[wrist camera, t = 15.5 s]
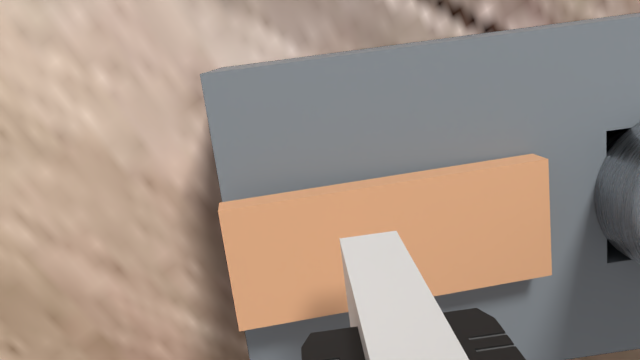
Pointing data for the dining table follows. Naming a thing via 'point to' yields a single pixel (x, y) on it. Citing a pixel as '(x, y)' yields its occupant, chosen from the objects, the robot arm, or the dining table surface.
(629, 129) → the steel pin
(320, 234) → the bar
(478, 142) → the slate block
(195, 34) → the dining table surface
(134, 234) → the dining table surface
